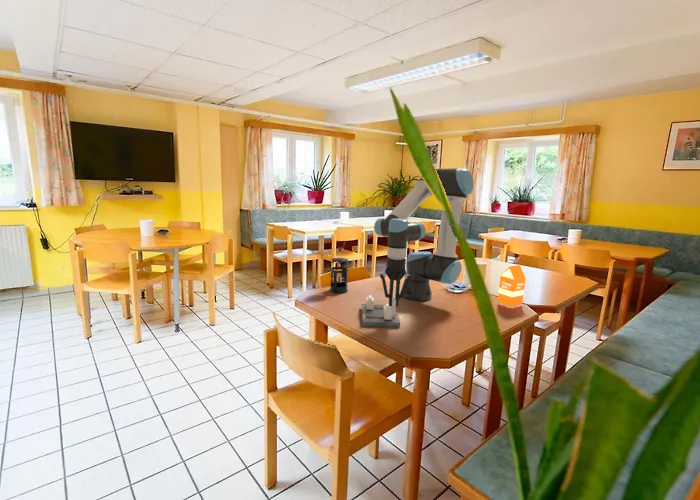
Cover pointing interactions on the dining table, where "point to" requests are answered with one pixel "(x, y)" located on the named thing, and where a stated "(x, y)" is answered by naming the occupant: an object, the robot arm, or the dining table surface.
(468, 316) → the dining table surface
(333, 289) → the french press
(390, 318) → the handle
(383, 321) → the switch board
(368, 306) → the on handle
